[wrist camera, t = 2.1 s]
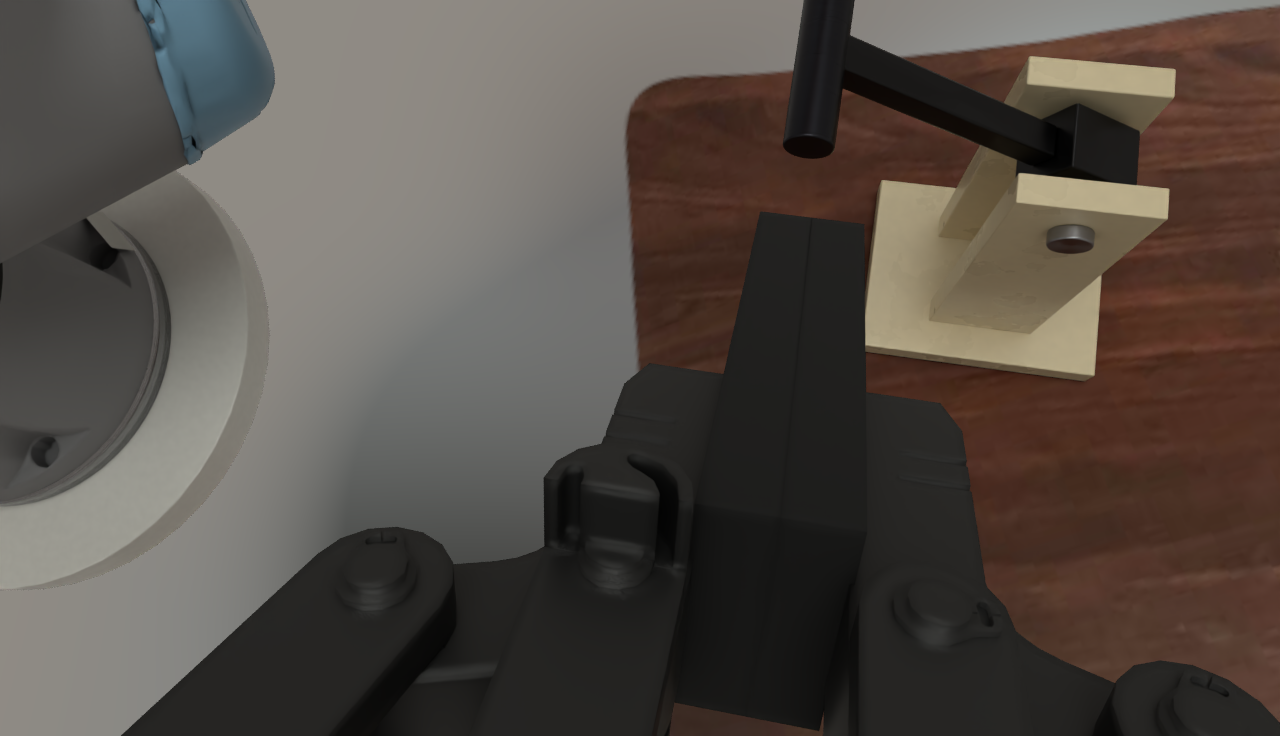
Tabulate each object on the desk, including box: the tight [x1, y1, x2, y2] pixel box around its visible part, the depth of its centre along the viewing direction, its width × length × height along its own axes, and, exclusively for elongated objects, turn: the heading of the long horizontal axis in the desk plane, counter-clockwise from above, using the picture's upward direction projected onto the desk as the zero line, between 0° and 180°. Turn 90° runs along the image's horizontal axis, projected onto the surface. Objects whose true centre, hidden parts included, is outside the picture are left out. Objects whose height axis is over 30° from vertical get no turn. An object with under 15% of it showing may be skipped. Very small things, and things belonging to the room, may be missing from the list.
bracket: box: [865, 56, 1176, 381], centre depth 36 cm, size 10×8×15 cm
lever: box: [783, 0, 1140, 185], centre depth 29 cm, size 12×6×2 cm, turn 81°
